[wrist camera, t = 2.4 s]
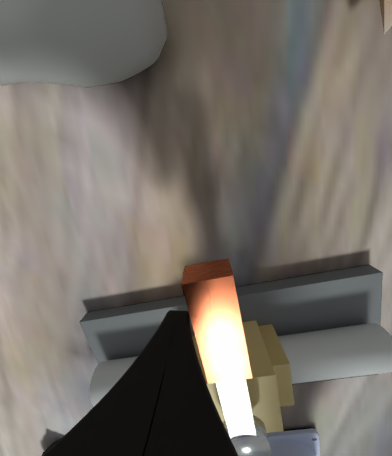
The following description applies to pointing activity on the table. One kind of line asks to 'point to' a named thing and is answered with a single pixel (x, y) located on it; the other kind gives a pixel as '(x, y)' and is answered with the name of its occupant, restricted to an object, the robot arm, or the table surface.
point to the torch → (386, 14)
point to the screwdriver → (79, 40)
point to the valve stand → (266, 336)
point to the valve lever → (224, 350)
